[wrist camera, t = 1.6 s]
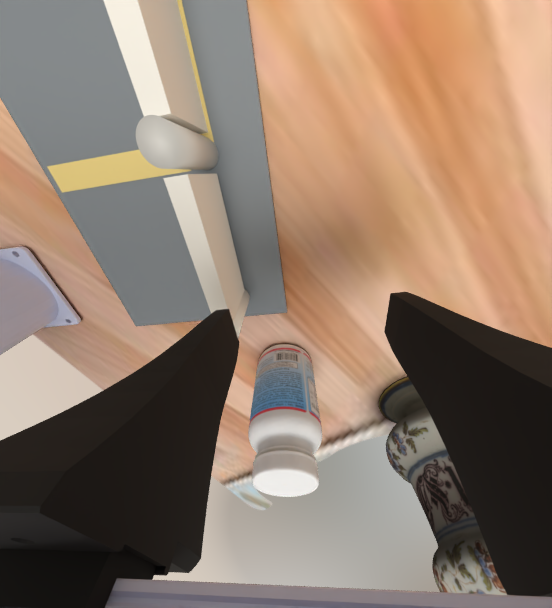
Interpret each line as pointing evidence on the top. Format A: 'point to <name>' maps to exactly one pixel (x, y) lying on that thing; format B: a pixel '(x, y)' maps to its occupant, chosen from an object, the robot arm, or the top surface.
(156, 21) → the fixed fence section
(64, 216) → the top surface
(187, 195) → the fence panel
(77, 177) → the board
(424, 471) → the apothecary jar
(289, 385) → the pill bottle
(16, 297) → the robot arm
